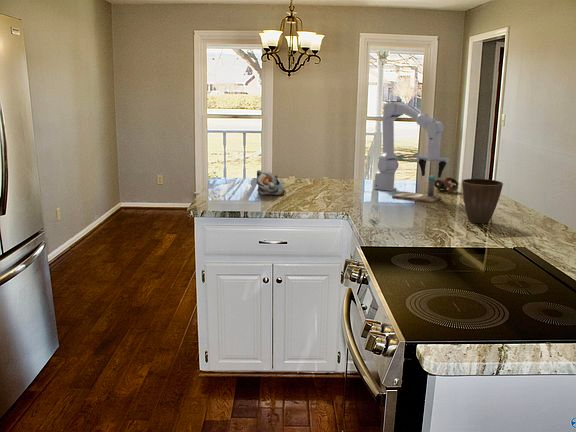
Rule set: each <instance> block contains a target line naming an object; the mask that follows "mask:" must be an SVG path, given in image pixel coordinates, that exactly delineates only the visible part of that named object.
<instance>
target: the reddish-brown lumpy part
mask: <svg viewBox="0 0 576 432" xmlns="http://www.w3.org/2000/svg"><path fill="white" fill-rule="evenodd" d="M450 181H451V183H450ZM451 184H452V185H451ZM458 186H459V182H458V181H457V179H455V178H453V177H449V176H448V177H445V178H444V179H435V184H434V188H436V189H437V191H439V190H445V191H447V193H449V194H451V193H452V192H454V191H457V190H458V188H459V187H458Z"/></svg>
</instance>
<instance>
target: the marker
mask: <svg viewBox="0 0 576 432" xmlns="http://www.w3.org/2000/svg"><path fill="white" fill-rule="evenodd" d="M435 180H436V176H435V175H428V185H427V195H428V196H434V195H435V186H434V184H435Z"/></svg>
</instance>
